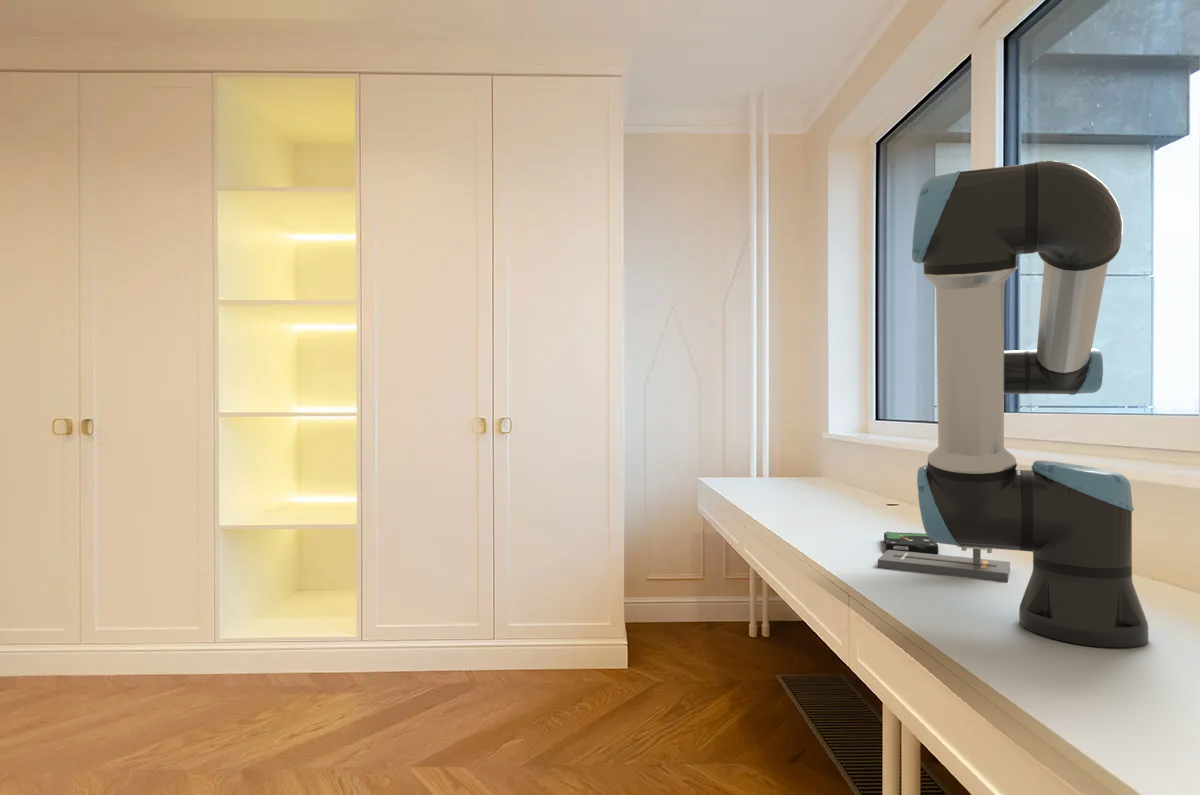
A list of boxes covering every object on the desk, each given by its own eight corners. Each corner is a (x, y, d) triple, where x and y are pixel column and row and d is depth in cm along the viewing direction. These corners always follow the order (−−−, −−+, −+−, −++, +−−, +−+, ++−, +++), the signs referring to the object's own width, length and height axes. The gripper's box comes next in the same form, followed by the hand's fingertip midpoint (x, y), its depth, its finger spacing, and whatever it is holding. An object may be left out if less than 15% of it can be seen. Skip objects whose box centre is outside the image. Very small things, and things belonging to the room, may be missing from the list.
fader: (986, 566, 136) (986, 511, 136) (965, 563, 137) (965, 510, 137) (988, 561, 140) (988, 508, 140) (967, 558, 142) (967, 506, 142)
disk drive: (939, 559, 153) (931, 545, 167) (939, 546, 153) (931, 532, 167) (886, 556, 156) (882, 542, 170) (886, 542, 156) (882, 530, 170)
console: (1007, 581, 131) (1007, 572, 131) (877, 567, 142) (877, 559, 142) (1010, 569, 141) (1010, 561, 141) (888, 556, 152) (888, 549, 152)
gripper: (1027, 426, 138) (1028, 551, 138) (930, 424, 146) (931, 542, 146) (1027, 427, 131) (1027, 559, 131) (926, 425, 140) (926, 549, 140)
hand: (976, 550), depth 139 cm, fingers closed on fader, 3 cm apart
